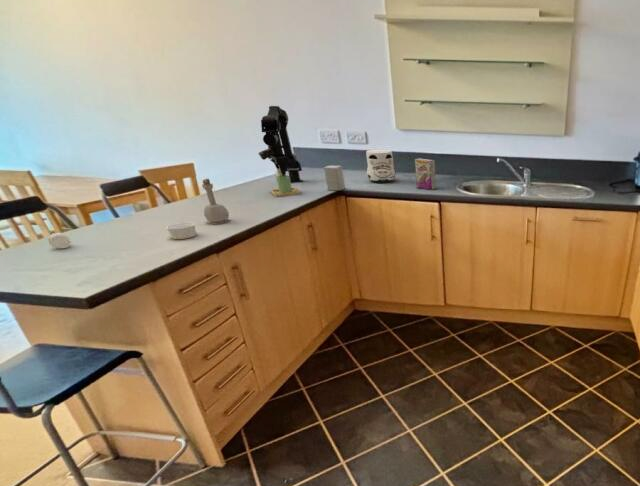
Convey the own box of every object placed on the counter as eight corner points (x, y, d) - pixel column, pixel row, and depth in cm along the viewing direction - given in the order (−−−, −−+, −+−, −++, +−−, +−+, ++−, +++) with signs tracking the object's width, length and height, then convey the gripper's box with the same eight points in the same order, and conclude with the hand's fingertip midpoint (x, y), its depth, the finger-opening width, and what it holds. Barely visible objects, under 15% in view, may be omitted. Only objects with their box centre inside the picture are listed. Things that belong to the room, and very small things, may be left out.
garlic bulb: (71, 243, 152) (64, 228, 149) (74, 246, 148) (67, 232, 146) (50, 246, 148) (42, 232, 145) (53, 250, 144) (45, 235, 142)
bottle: (277, 192, 226) (271, 170, 221) (287, 190, 231) (283, 169, 226) (284, 194, 224) (279, 172, 218) (295, 192, 229) (290, 170, 223)
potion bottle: (235, 220, 181) (223, 178, 173) (216, 225, 174) (202, 182, 166) (220, 217, 184) (207, 176, 175) (201, 223, 176) (187, 180, 168)
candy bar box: (416, 187, 248) (413, 159, 240) (421, 186, 252) (419, 158, 244) (431, 190, 244) (430, 161, 236) (436, 188, 248) (435, 160, 240)
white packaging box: (345, 188, 242) (342, 165, 236) (339, 190, 235) (336, 167, 230) (333, 187, 242) (329, 165, 237) (327, 190, 236) (323, 167, 230)
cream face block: (381, 185, 251) (378, 154, 243) (362, 181, 259) (358, 151, 251) (402, 180, 264) (399, 151, 256) (383, 177, 272) (380, 148, 264)
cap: (279, 173, 225) (278, 168, 223) (287, 173, 225) (286, 168, 224) (276, 175, 221) (275, 169, 220) (284, 175, 221) (283, 169, 220)
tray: (271, 192, 228) (270, 189, 227) (295, 189, 235) (294, 187, 234) (276, 196, 220) (275, 194, 219) (300, 193, 226) (300, 191, 226)
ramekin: (170, 235, 162) (166, 224, 160) (197, 231, 167) (193, 220, 165) (170, 241, 156) (166, 230, 154) (198, 237, 161) (195, 226, 159)
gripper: (253, 142, 217) (261, 173, 224) (262, 146, 204) (269, 178, 212) (276, 141, 223) (283, 171, 231) (286, 145, 211) (293, 176, 218)
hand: (281, 174), depth 223 cm, fingers open, 6 cm apart
